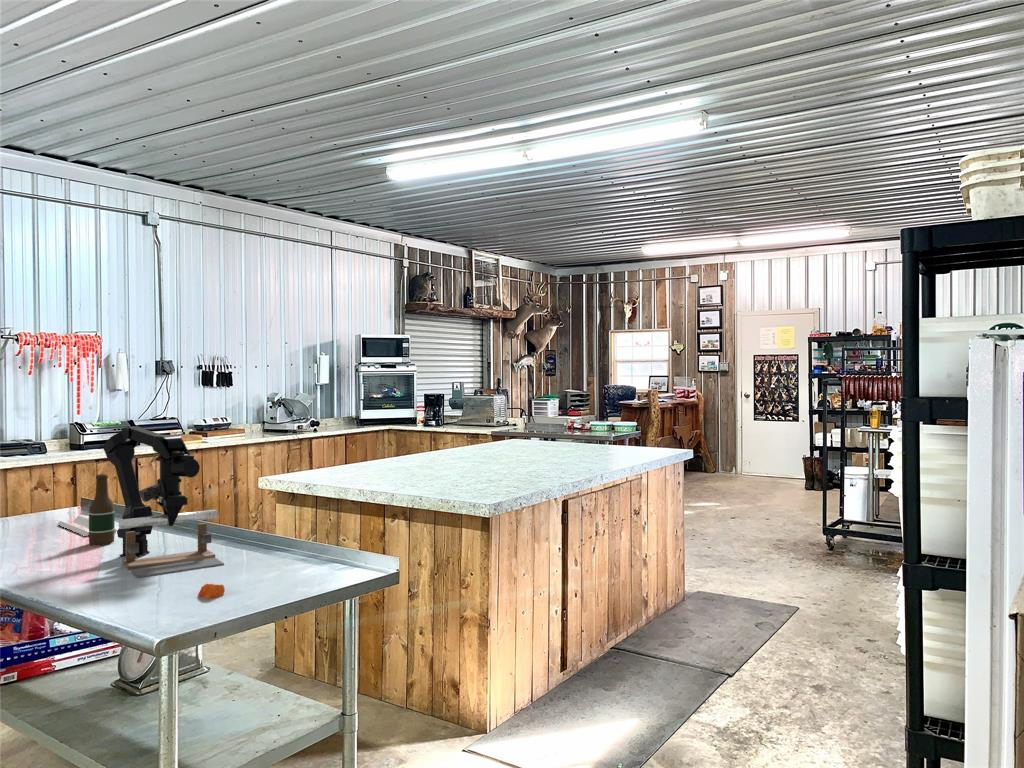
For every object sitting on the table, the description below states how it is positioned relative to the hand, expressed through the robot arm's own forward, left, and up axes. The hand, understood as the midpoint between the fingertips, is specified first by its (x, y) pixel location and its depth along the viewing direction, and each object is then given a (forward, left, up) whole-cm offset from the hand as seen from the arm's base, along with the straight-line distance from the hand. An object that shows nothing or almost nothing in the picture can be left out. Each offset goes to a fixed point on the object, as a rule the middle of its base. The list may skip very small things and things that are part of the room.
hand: (169, 525), depth 225 cm
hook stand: (0, 0, -11) cm, 11 cm away
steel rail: (0, 0, +1) cm, 1 cm away
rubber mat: (+8, -8, -11) cm, 16 cm away
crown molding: (-60, +42, -12) cm, 75 cm away
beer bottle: (-38, +20, -12) cm, 45 cm away
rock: (+32, -32, -12) cm, 47 cm away
